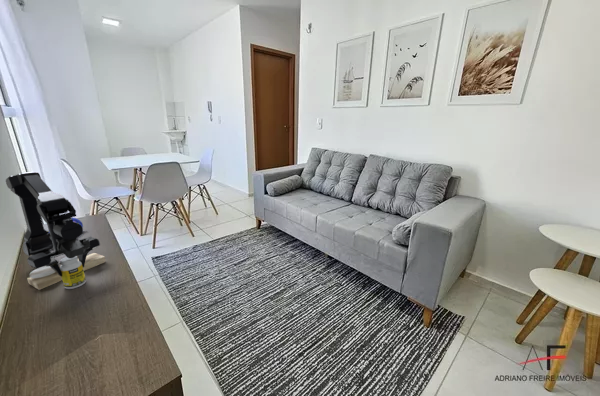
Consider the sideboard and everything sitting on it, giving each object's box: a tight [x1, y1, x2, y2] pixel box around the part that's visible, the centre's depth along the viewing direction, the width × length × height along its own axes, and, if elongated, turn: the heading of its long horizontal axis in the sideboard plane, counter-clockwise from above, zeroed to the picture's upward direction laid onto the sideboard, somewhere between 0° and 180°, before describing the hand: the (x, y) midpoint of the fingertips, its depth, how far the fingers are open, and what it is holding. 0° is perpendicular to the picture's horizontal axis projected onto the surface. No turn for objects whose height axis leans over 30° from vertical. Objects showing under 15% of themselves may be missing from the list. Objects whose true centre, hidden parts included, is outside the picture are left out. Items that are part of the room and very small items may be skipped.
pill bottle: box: [59, 256, 87, 290], centre depth 92 cm, size 6×6×11 cm
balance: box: [27, 246, 107, 291], centre depth 101 cm, size 8×22×8 cm, turn 155°
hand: (72, 271), depth 92 cm, fingers closed on pill bottle, 6 cm apart
